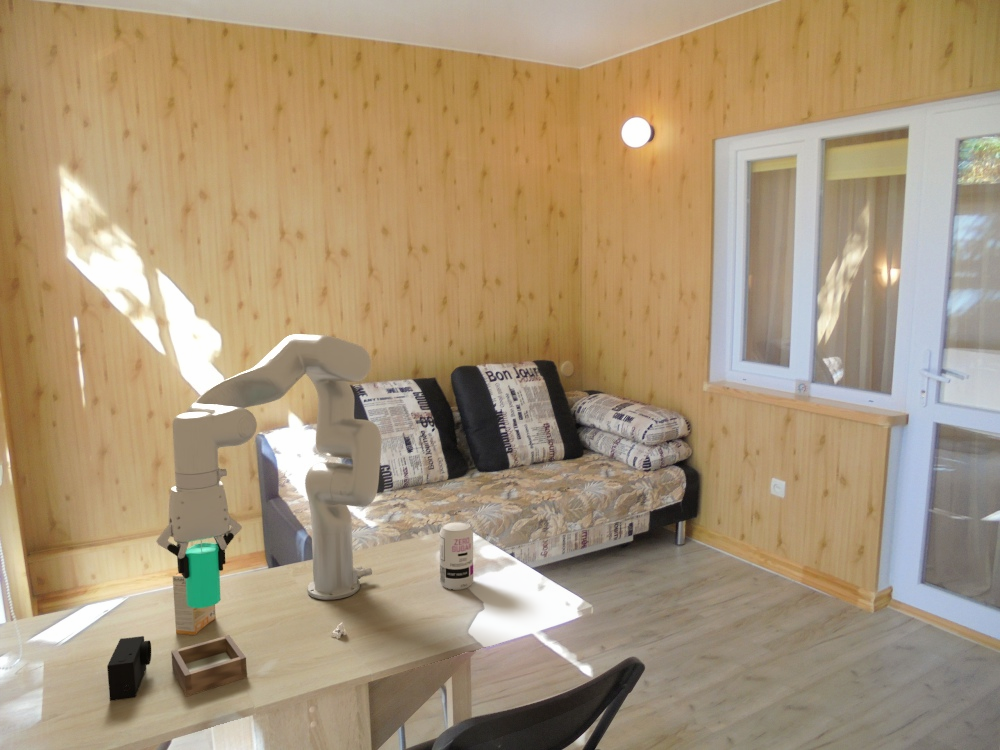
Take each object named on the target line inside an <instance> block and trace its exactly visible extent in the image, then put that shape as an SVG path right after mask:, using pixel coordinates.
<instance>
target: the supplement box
mask: <svg viewBox="0 0 1000 750" xmlns="http://www.w3.org/2000/svg"><path fill="white" fill-rule="evenodd" d="M172 586H173V587H172V588H173V603H174V620H175V633H176V634H181V635H190V636H195V635H196V634H198V632H200V631H201V630H202V629H204V628H205V627H206V626H207V625H209V624H210V623H211V622H213V621H214V620H215V619H217V617H216V616H217V615H216V604H215V605H213V606H210V607H205V608H192V607H189V606H188V605H187V596H186V579H185V578H184V577H183V575H182V574H179V572H177V573H176V574H173V575H172Z"/></svg>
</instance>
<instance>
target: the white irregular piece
mask: <svg viewBox="0 0 1000 750" xmlns="http://www.w3.org/2000/svg"><path fill="white" fill-rule="evenodd" d="M342 635H343V636H346V635H347V631H346V629H345V624H344V622H343V621H341V622H340V623H339V624H338V625H337V626H336V628H335V629H334V630H333V631H332V632H331V635H330V637H331V638H335V639H337V640H339V639H340V638H341V636H342Z"/></svg>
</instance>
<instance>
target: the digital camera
mask: <svg viewBox="0 0 1000 750" xmlns="http://www.w3.org/2000/svg"><path fill="white" fill-rule="evenodd" d="M151 659H152V643H151V641H150V640H145V636H144V635H142V636H133V637H124V638H119V641H118V643H117V644H116V647H115V649H114V650H113V653H112V655H111V657H110V659H109V662H108V664H107V666H106V667H107V681H108V690H109V691H108V693H109V701H110V702H111V701H119V700H125V699H133V698H136V697H137V694H138V691H139V689H140V686H141V683H142V681H143V680H144V679H143V678H144V676H145V673H146V670H147V666H149V665H150V663H151Z"/></svg>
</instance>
